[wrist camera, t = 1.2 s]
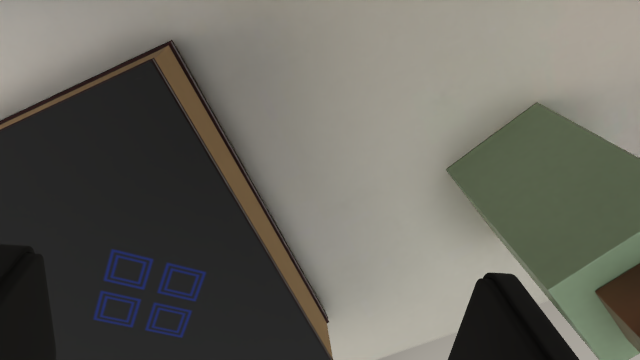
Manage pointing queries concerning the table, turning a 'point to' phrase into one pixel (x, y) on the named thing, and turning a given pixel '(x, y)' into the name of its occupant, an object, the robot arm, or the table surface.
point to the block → (624, 303)
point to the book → (151, 225)
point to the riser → (561, 214)
